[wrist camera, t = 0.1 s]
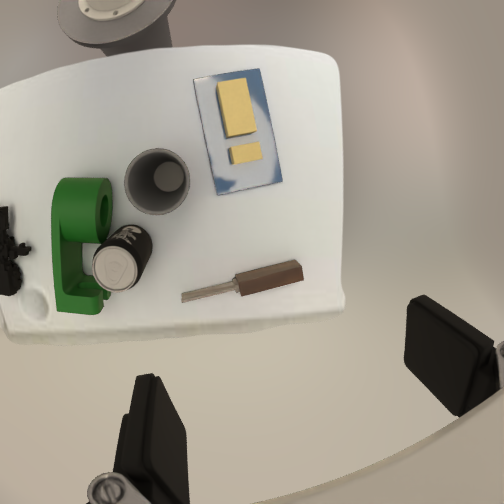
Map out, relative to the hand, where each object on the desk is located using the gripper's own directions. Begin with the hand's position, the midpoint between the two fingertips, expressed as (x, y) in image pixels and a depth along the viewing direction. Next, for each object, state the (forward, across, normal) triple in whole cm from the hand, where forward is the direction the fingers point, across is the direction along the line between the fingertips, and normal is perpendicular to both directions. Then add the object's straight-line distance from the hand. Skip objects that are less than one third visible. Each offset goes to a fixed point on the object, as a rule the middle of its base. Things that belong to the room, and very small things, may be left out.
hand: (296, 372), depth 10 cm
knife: (+39, -1, +12) cm, 40 cm away
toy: (+36, +35, -11) cm, 52 cm away
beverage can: (+39, +14, +2) cm, 41 cm away
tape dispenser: (+34, +23, -2) cm, 41 cm away
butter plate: (+39, -5, -11) cm, 41 cm away
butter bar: (+38, -5, -14) cm, 41 cm away
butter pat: (+38, -5, -8) cm, 39 cm away
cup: (+39, +6, -7) cm, 40 cm away
